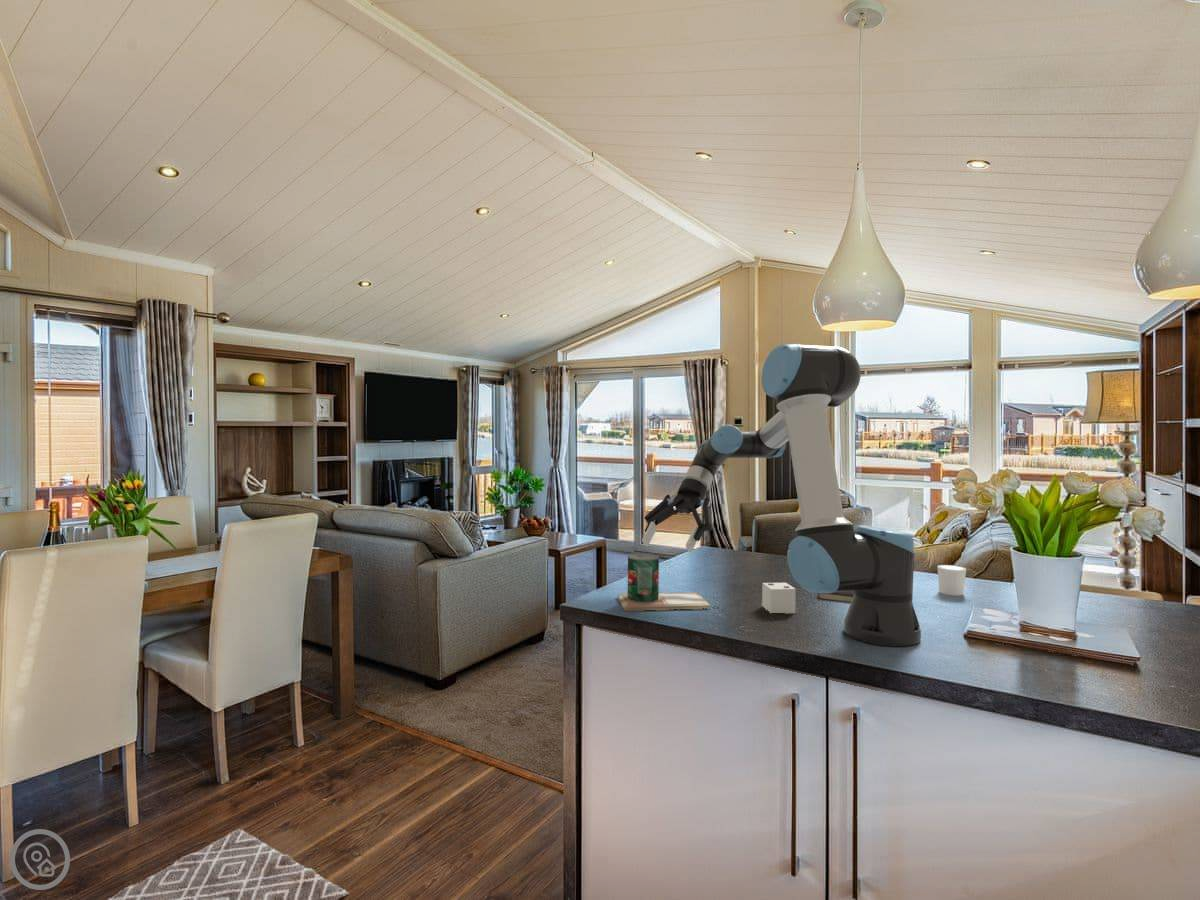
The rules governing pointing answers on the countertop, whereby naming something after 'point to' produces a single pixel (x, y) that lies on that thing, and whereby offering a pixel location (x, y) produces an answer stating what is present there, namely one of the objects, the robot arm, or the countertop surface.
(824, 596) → the hardcover book
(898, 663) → the countertop surface
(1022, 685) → the countertop surface
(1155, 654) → the countertop surface
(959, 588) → the white short cylinder
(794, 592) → the die
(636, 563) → the canned tomato
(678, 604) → the game board
